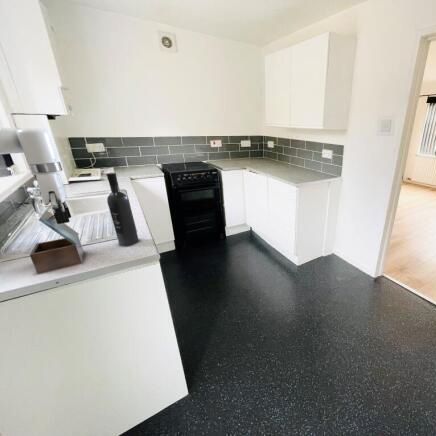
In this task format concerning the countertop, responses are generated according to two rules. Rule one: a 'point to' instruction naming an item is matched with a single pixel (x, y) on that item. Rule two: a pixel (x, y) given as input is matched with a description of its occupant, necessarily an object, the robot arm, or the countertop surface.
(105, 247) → the countertop surface
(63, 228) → the lid
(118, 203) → the wine bottle
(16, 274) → the countertop surface
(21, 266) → the countertop surface
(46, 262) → the chest
